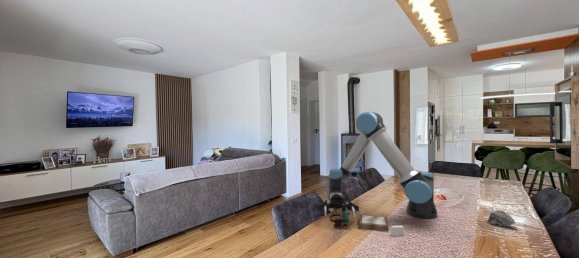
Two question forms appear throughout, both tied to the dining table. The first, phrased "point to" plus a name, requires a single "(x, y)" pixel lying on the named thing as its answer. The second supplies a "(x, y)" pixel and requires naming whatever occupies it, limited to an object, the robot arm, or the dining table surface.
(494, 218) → the mineral specimen
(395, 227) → the price sign
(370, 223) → the plinth
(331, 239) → the dining table surface
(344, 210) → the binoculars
